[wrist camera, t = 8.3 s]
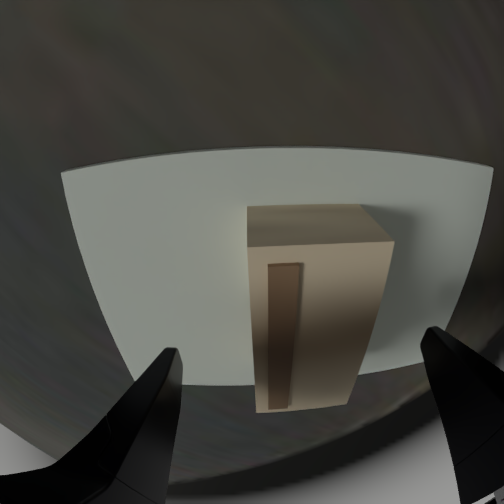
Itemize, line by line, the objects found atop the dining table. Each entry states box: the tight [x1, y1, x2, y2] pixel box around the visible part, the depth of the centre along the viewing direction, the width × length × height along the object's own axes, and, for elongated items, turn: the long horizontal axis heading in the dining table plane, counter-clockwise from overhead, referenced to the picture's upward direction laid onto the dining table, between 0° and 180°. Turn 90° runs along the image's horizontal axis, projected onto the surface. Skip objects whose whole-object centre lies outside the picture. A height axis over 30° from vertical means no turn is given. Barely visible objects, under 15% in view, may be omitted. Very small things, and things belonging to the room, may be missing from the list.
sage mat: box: [61, 146, 494, 385], centre depth 12 cm, size 18×12×1 cm, turn 92°
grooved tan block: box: [247, 204, 395, 413], centre depth 10 cm, size 8×4×3 cm, turn 2°
